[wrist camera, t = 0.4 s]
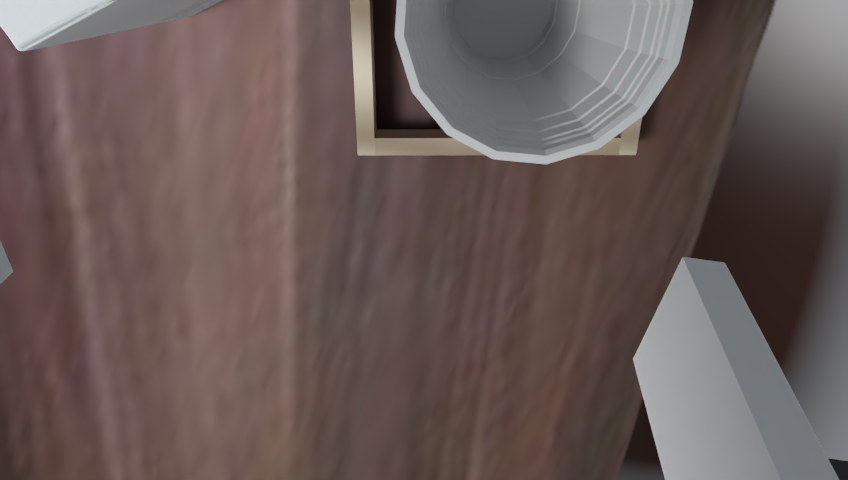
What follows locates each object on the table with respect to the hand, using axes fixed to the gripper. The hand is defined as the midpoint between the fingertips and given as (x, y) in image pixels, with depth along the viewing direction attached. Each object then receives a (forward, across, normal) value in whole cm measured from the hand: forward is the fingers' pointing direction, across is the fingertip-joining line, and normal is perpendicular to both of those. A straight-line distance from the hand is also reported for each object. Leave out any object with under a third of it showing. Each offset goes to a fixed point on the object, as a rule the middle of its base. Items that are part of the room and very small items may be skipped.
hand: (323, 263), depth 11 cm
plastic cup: (+25, +4, -1) cm, 25 cm away
